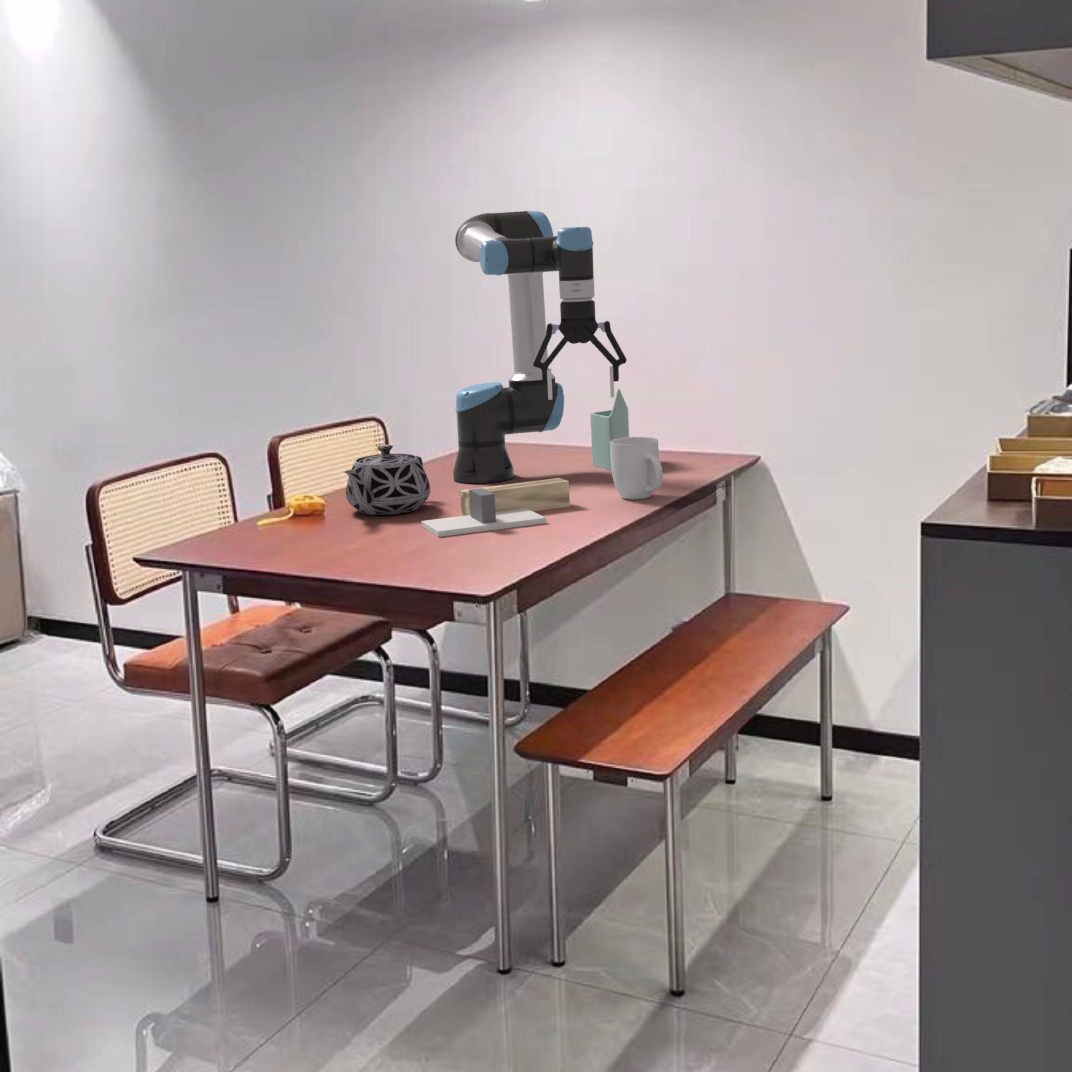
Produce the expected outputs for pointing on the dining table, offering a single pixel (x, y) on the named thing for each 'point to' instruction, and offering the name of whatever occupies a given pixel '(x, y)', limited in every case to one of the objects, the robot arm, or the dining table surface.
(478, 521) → the fulcrum
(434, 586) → the dining table surface
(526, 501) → the wooden beam
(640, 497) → the mug
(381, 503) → the teapot
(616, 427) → the planter
